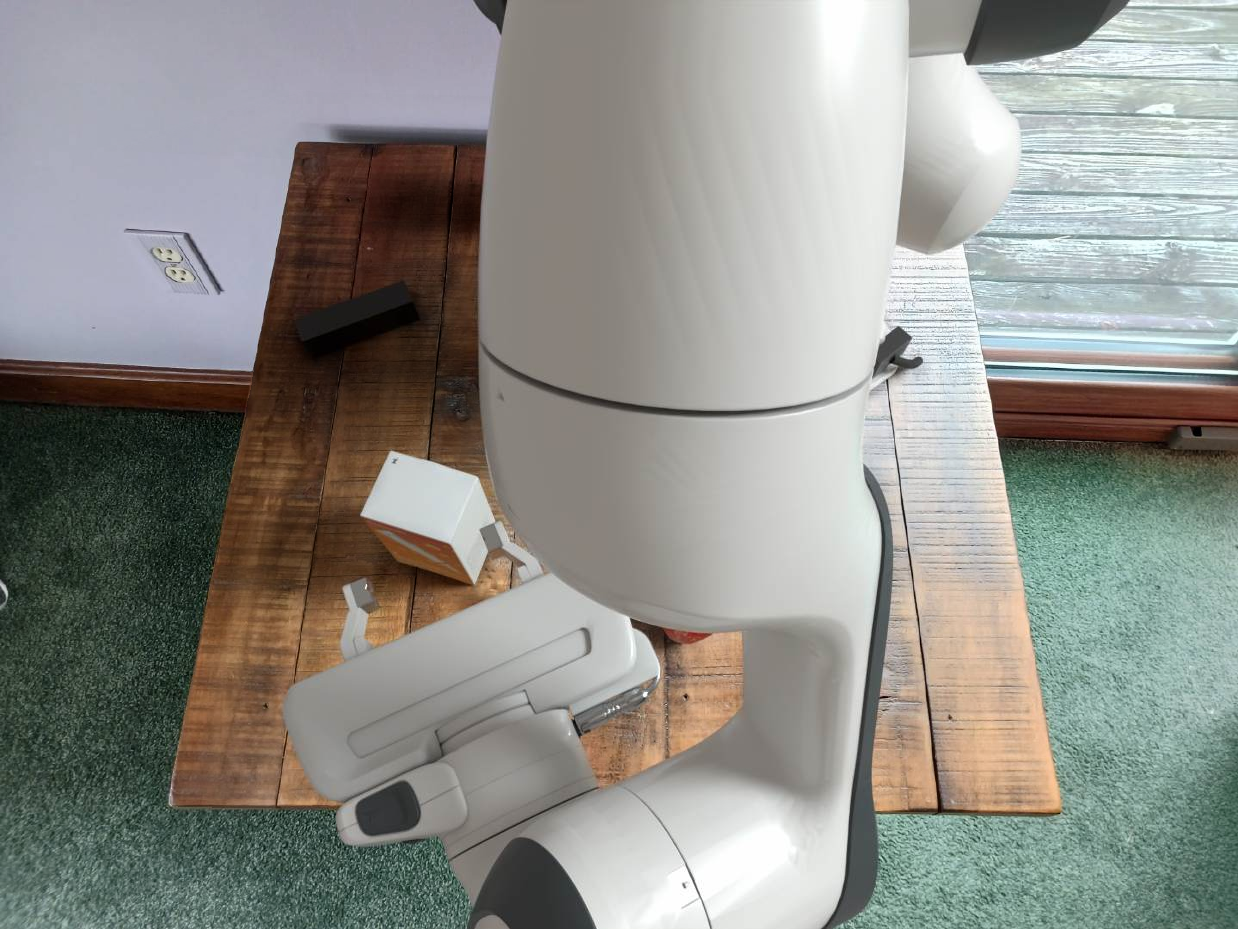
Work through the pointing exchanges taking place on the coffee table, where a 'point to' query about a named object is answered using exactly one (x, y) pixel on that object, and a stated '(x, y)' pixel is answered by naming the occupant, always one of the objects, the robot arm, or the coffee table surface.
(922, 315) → the coffee table surface
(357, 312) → the bar
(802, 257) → the robot arm
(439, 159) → the coffee table surface
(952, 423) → the coffee table surface
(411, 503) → the small box
